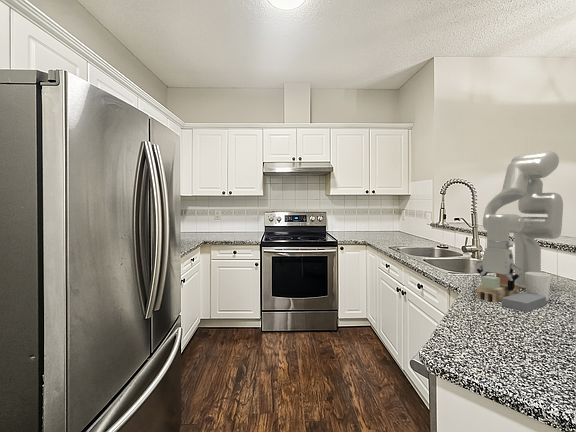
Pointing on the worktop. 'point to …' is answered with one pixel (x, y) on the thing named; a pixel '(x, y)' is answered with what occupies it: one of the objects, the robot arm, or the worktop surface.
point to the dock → (524, 301)
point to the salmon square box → (503, 279)
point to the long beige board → (496, 292)
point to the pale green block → (490, 282)
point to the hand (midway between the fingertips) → (497, 288)
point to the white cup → (538, 284)
